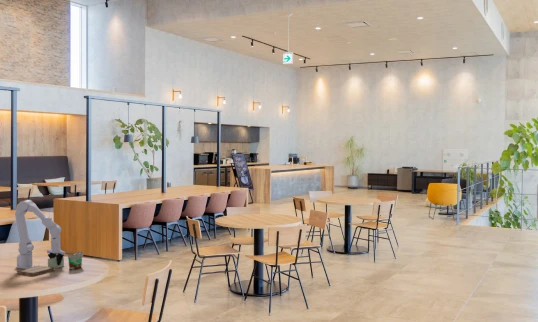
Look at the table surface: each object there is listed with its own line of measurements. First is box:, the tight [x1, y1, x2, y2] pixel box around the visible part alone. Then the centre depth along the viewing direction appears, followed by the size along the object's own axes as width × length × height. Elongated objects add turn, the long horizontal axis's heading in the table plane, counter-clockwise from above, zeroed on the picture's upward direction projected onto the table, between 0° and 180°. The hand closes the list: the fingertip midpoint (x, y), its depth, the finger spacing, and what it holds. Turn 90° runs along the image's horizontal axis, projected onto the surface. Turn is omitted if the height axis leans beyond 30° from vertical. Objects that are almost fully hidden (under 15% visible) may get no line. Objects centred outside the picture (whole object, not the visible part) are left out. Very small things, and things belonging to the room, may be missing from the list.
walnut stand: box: [16, 265, 55, 277], centre depth 333 cm, size 14×16×2 cm
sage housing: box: [47, 256, 65, 270], centre depth 347 cm, size 5×10×6 cm, turn 154°
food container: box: [67, 251, 84, 271], centre depth 343 cm, size 12×6×10 cm, turn 168°
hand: (56, 264), depth 347 cm, fingers closed on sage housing, 5 cm apart
